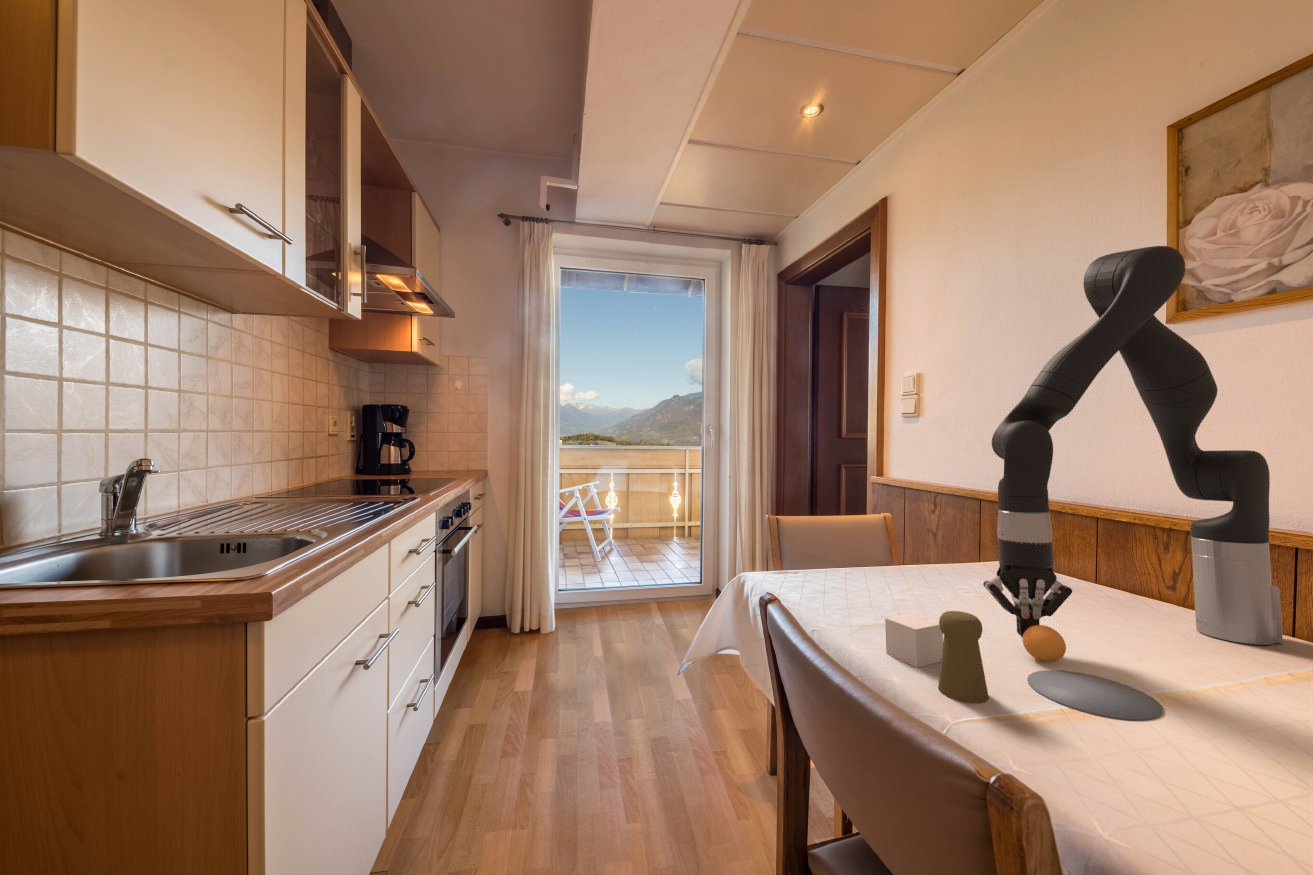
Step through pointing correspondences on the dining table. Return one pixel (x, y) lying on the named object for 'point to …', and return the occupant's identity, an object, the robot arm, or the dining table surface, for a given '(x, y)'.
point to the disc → (1095, 695)
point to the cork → (962, 658)
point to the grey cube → (914, 639)
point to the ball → (1044, 643)
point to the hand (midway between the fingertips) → (1028, 639)
